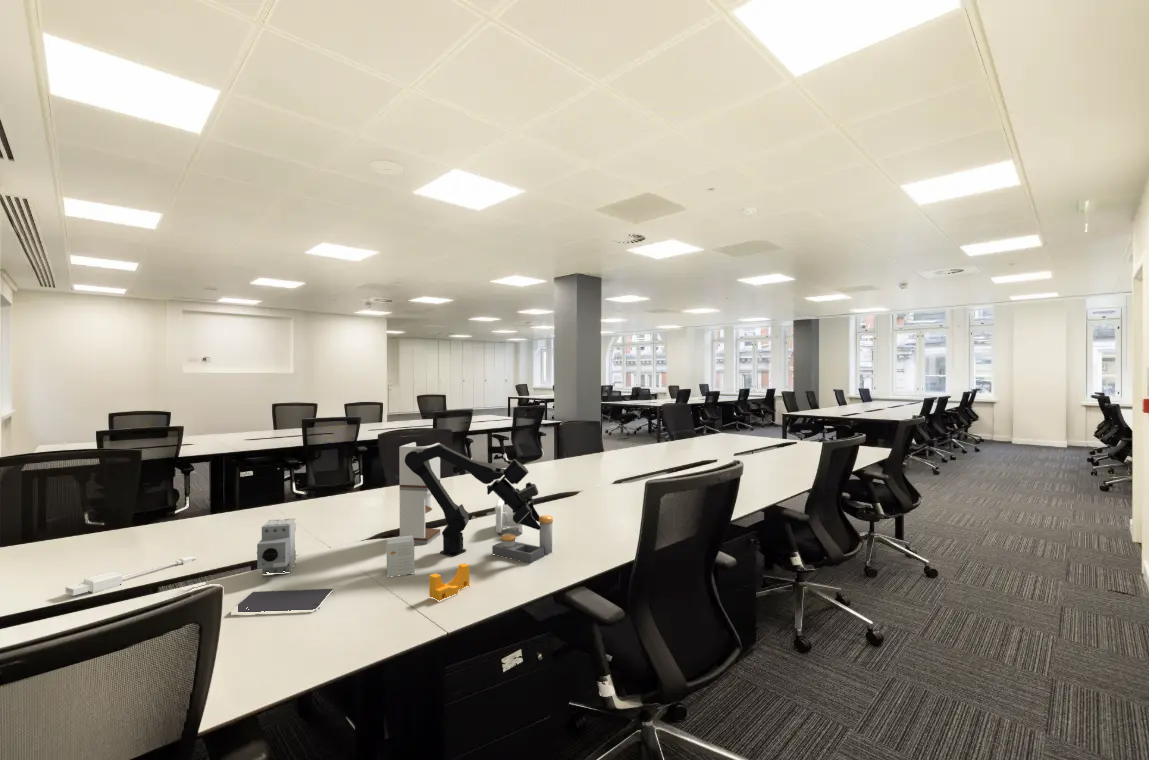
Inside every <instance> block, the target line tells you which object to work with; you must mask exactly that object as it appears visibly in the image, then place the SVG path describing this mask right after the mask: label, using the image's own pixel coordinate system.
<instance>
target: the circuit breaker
mask: <svg viewBox="0 0 1149 760" xmlns="http://www.w3.org/2000/svg"><path fill="white" fill-rule="evenodd" d="M295 520H296V518H295V517H294V518H284V519H281V518H279V519H268V521H267V522H265V523H264V524H263V525H262V526H261V539H260V540H259V542H258V543H257V544H256V547H257V548H256V555H257V557H256V559H257V560H256V561H257V562H256V563H257V564H256V565H257V567H256V569H257V570H261V575H262V574H267V573H266V572H269V573H285V572H290V571H291V569H292V568H293V566H294V565H295V562H296V560H297V555H296V536H295V535H296V531H297V530H296V526H297V525H296V522H295ZM295 566H296V565H295ZM295 566H294V567H295ZM293 569H294V568H293ZM293 569H292V570H293ZM283 571H285V572H283ZM291 572H292V571H291ZM291 572H290V573H291Z"/></svg>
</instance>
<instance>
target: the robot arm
mask: <svg viewBox="0 0 1149 760" xmlns="http://www.w3.org/2000/svg"><path fill="white" fill-rule="evenodd" d="M436 457H440V459H441V460H444V461H446V462H448V463H450V464H452V465H454V466H456V467H458V468H460V469H462V470H464V471H466V472H468V473H469V474H471V475H472V476H473V477H474V478H475V479H476V480H478V481H479V482H480V483H482V484H483V485H487V486H486V491H487V492H486V494H487V495H490V494H491V493H492V492H494V494H495V495H497V496H498V497H499V499H500V498H501V499H502V500H503V501H504V504H505V505H506V504H507V505H508V506H509V507H510V508H511V509H512V510H513V511H512V512H513V513H514V514H513V521H514V522H515V523H516V524H522V525H524V527H529V528H532V529H534V530H537V531H540V528H541V527H540V522H539V517H540V516H541V515H539V513H538V511H537V510H536V508H535V506H534V497H536V496H538V495H539V490H538V488H537V485H536V483H531V481H529V482H527V483H525V487H523V488H522V489H521V490H520V489H519V488H517V487H516V488H515V487H514V486H513V485H518V484H519V483H520V482H521V481H522V480H523V479H524V478H525V477H526V476H527V475H528V474H529V473H530V471H529V470H528V469H527V468H526V466H525V465H524V464H523V463H521V462H519V461H517V459H514V458H513V460H511V463H510V464H509V465H508V466H507V467H506V468H500V467H496V466H494V465H493V464H491V463H488V462H484V461H478V460H474V459H473V458H470V457H468V456H466V455H464V454H463V453H460V452H458V451H455V450H453V449H452V448H450V447H447V446H446V445H445V444H443V443H440V444H438V445H436V446H433V447H430V448H427V449H424V450H422V449H415V450H413V451H411V452H409V453H408V454H407V455H406V457H405V464H406V465H407V466H408V467H409V468H410V469H411V470H412V471H413V472H414V473H415V474H417V475H418V476H419V477H420V478H421V479H422V480H423V482H424V483H425V485H426V486H427V488H428V489H429V491H430V492H431V494H432V498H434V499H435V501H436V503H437V504H438V506H439V507H440V509H442V512H443V515H444V518H445V522H446V524H447V525H446V526H445V527H444V529H443V530H442V532H441V535H442V537H443V538H442V540H443V541H442V546H443V547H442V548H443V550H440V551H439V554H441V555H442V554H443V555H446V556H451V557H455V556H457V555H460V554H462V553H465V552H466V551H467V549H466V548H464V536H463V534H464V533H463V532H464V530H465V528H466V527H467V526H468V524H469V520H470V517H469V512H468V511H467V510H466V509H465V507H464V505H463V504H462V503H461V504H460V505H458V504H457V503H456V502H454V500H453V499H452V498H451V496H450V495H449V492H448V491H447V490H446V489H445V488H444V486H443V484H442V483H441V480H440V481H439V480H438V479H437V477H436V476H435V474H434V473H433V471H432V469H431V466H430V463H429V460H431V459H433V458H436ZM491 483H492V484H491Z"/></svg>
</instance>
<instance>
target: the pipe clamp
mask: <svg viewBox="0 0 1149 760" xmlns="http://www.w3.org/2000/svg"><path fill="white" fill-rule="evenodd" d="M428 576H429V577H428V579H429V582H428V583H429V588H428V589H429V593H428V594H429V596H430V597H433V598H435V599H437V600H439V601H440V600H442V599H444V598H447V597H449V596H452V595H454V594H457V593H458V594H459V591H458V590H459V589H462V588H464V587H466V586H469V587H470V564H467V563H465V562H464V563H463V562H462V563H460V564H458V565H457V571H456V574H455V575H454V577H453V578H452V579H451V580H450V581H448V582H447V583H444V582H443V580H442V575H441V574H438V573H436V572H435V573H433V574H430V575H428ZM462 590H463V589H462ZM429 596H428V597H429Z"/></svg>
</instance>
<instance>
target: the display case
mask: <svg viewBox="0 0 1149 760" xmlns="http://www.w3.org/2000/svg"><path fill="white" fill-rule="evenodd" d="M438 444H441V443H440V442H436V443H433V444H430V445H425V446H417V442H416V441H413V442H410V443H406V444H404V445H403V444H402V445H401V446H399V448H398V449H399V451H398V452H399V469H398V470H399V537H404V536H413V539H414V545H415V544H416V545H417V544H419V545H428V544H430V543H431V542H432V541H434V540H435V539H437V538H438V537H439V536H440V535H441V529H440V528H427V527H426V514H428V513H430V512H431V511H432V510H433V495H432V494H431V492H430V491H429V489H428V488H427V486H426V485H425V483H424V482H423V480H422V479H421V478H420V477H419V476H418V475H417V474H415V473H414V472H413V471H412V470H411V469H410V468H409V467H408V466H407V465H406V464H405V457H406V455H407V454H408V453H409V452H411V451H413V450H415V449H422V450H424V449H427V448H430V447H433V446H436V445H438ZM429 463H430V466H431V469H432V471H433V473H434V474H435V476H436V477H437V479H438V480H439V481H440V482H441V458H440V457H436V458H433V459H431V460H429Z"/></svg>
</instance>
